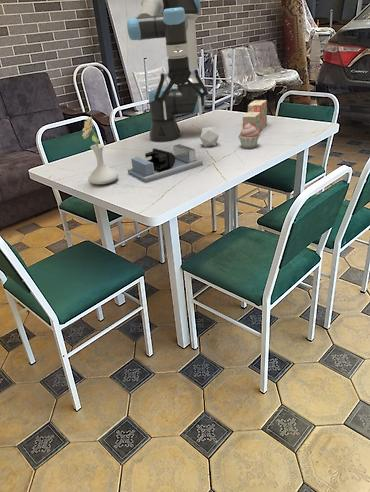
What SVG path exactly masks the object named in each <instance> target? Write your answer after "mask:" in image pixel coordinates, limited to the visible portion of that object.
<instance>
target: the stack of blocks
mask: <svg viewBox="0 0 370 492" xmlns="http://www.w3.org/2000/svg"><path fill="white" fill-rule="evenodd" d="M267 113H268V100H267V99H254V100H253V101H251V102H249V104H247V112H246V113H245V114H244V115H242V129H243V128H244V126H245V125H247V124H248V123H250V125H252V126H254V127H255V128H256V129H257V130H258V134H260V133H261V131H262V130H264V129H265V127H266V126H268V116H267V115H268V114H267Z"/></svg>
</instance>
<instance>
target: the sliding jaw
mask: <svg viewBox="0 0 370 492" xmlns="http://www.w3.org/2000/svg"><path fill="white" fill-rule="evenodd" d="M173 154H174V156H175V158H176V159H179V160H182V161H184V162H187V163H192V162H195V161H196V160H197V156H196V154H197V152H196V149H195V148H192V147H190V146H187V145H183V144H180V143H179V144H176V145H173Z"/></svg>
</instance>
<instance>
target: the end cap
mask: <svg viewBox="0 0 370 492" xmlns="http://www.w3.org/2000/svg"><path fill="white" fill-rule="evenodd" d="M144 155H145V159H147V161H149V162H152V163H153V167H154V171H157V172H163V171H166V170H169V169H171V168H172V167H173V165H174V163H175V156H174V153H172V152H170V151H166V150H162V149H158V148H152V151H150V152H149V151H148V152H146V153H145V154H144ZM149 157H151V158H150V159H148V158H149Z"/></svg>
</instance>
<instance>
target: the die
mask: <svg viewBox="0 0 370 492" xmlns="http://www.w3.org/2000/svg"><path fill="white" fill-rule="evenodd" d="M216 129H217V128H216V127H215V126H209V127H203V128H202V130H201V134H200V137H199V139H200V141H201V143H202V145H203V147H204V148H206V147H216V146H217V143H218V140H219V137H220V135H219V133H218V131H217V130H216Z"/></svg>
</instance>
